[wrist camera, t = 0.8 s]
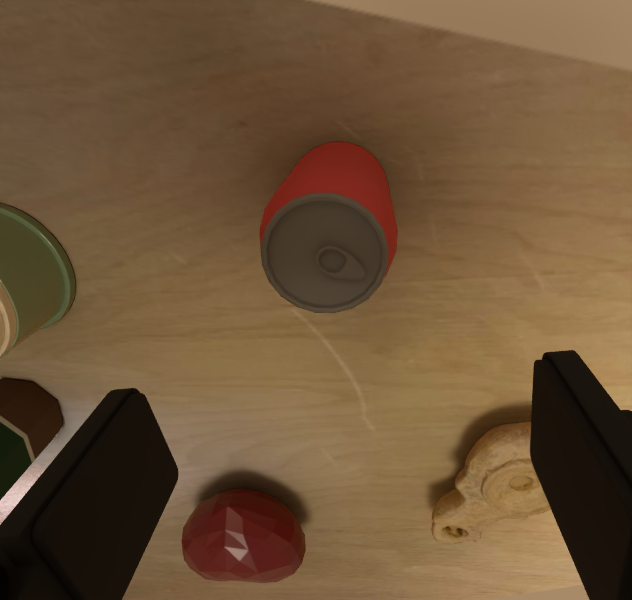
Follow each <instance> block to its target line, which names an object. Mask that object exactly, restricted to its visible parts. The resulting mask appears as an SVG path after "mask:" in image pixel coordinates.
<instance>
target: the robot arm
mask: <svg viewBox="0 0 632 600" xmlns="http://www.w3.org/2000/svg"><path fill="white" fill-rule="evenodd" d="M530 457H531V461H532V465H533V468H534V470H535V472H536V475H537V477H538V479H539V482H540V484H541V486H542V489H543V491H544V494H545V496H546V498H547V501H548V503H549V505H550V508H551V510H552V512H553V515H554V517H555V519H556V522H557V524H558V526H559V529H560V531H561V533H562V536H563V538H564V541H565V543H566V545H567V548H568V550H569V552H570V555H571V557H572V559H573V562H574V564H575V566H576V569H577V571H578V573H579V576H580V578H581V580H582V583H583V585H584V587H585V590H586V592H587V595H588V597H589V599H590V600H632V411H630V410H620V409H619V408H618V406H617V405H616V404H615V402H614V401H613V400H612V398H611V397H610V396H609V394H608V393H607V392H606V390H605V389H604V388H603V387H602V385H601V384H600V383H599V381H598V380H597V379H596V377H595V376H594V375H593V373H592V372H591V371H590V369H589V368H588V367H587V365H586V364H585V363H584V362H583V360H582V359H581V358H580V356H579V355H578V354H577V353H576V352H575V351H573V350H569V351H558V352H546V353H544V355H543V357H542V360H536V361H535V362H534V373H533V394H532V414H531V435H530ZM177 480H178V468H177V465H176V463H175V461H174V458H173V456H172V454H171V452H170V450H169V447H168V445H167V443H166V441H165V438H164V436H163V434H162V432H161V430H160V427H159V425H158V423H157V421H156V418H155V416H154V414H153V412H152V409H151V407H150V405H149V403H148V401H147V398H146V397H145V395H144V394H142V393H140V392H139V391H138V390H137V389H135V388H129V389H117V390H112V391H110V392H109V393H108V394H107V395H106V397H105V398H104V399H103V400H102V401H101V403H100V404H99V405H98V406H97V408H96V409H95V410H94V411H93V412H92V414H91V415H90V416H89V417H88V419H87V420H86V421H85V422H84V423H83V425H82V426H81V427H80V428H79V430H78V431H77V432H76V433H75V434H74V436H73V437H72V438H71V439H70V441H69V442H68V443H67V444H66V445H65V447H64V448H63V449H62V450H61V452H60V453H59V454H58V455H57V456H56V458H55V459H54V460H53V461H52V463H51V464H50V465H49V466H48V467H47V469H46V470H45V471H44V472H43V474H42V475H41V476H40V477H39V478H38V480H37V481H36V482H35V483H34V485H33V486H32V487H31V488H30V489H29V491H28V492H27V493H26V494H25V496H24V497H23V498H22V499H21V500H20V502H19V503H18V504H17V505H16V507H15V508H14V509H13V510H12V511H11V513H10V514H9V515H8V516H7V518H6V519H5V520H4V521H3V522H2V524H1V525H0V600H122V598H123V596H124V594H125V592H126V590H127V587H128V585H129V583H130V581H131V579H132V577H133V575H134V572H135V570H136V568H137V566H138V564H139V562H140V560H141V558H142V555H143V553H144V551H145V549H146V547H147V545H148V543H149V541H150V538H151V536H152V534H153V532H154V530H155V528H156V526H157V523H158V521H159V519H160V517H161V515H162V513H163V511H164V509H165V506H166V504H167V502H168V500H169V498H170V496H171V494H172V491H173V489H174V487H175V485H176V483H177Z"/></svg>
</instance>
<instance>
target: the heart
mask: <svg viewBox="0 0 632 600" xmlns="http://www.w3.org/2000/svg"><path fill="white" fill-rule="evenodd" d="M305 550H306V548H305V535H304V533H303V530H302V528H301V526H300V524H299V522H298V520H297V518H296V516H295V515H294V514H293V513H292V512H291V511H290V510H289V509H288V508H287V507H286V506H285V505H283V504H282V503H281V502H279V501H278V500H277V499H275V498H274V497H273V496H271V495H268V494H265V493H261V492H258V491H254V490H248V489H241V488H237V489H233V490H228V491H223V492H220V493H218V494H217V495H215V496H213V497H211V498H209V499H208V500H206V501H204V502H203V503H201V504H200V505H198V506H197V508H196V509H195V510H194V512H193V513H192V514H191V516H190V517H189V519H188V521H187V522H186V524H185V526H184V528H183V534H182V551H183V556H184V560H185V562H186V563H187V564H188V566H189V567H190V568H191V569H192V570H193V571H195V572H196V573H197V574H199V575H200V576H202V577H203V578H205V579H208V580H215V581H230V580H235V581H246V582H258V583H268V582H277V581H280V580H282V579H284V578H286V577H288V576H290V575H292V574H294V573H295V572H296V570H297V569H298V568H299V566H300V565H301V564H302V561H303V557H304V554H305Z"/></svg>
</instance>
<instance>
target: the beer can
mask: <svg viewBox="0 0 632 600" xmlns="http://www.w3.org/2000/svg"><path fill="white" fill-rule="evenodd" d="M397 232H398V230H397V226H396V221H395V216H394V211H393V206H392V202H391V197H390V192H389V187H388V183H387V180H386V176H385V172H384V170H383V168H382V167H381V165H380V164H379V162H378V161H377V159H376V158H375V157H374V156H373V155H372V154H370V153H369V152H368V151H366V150H365V149H364V148H362V147H360V146H357V145H354V144H351V143H348V142H329V143H326V144H324V145H321V146H318V147H315V148H314V149H312V150H311V151H310V152H309V153H307V154H306V155H305V156H303V157H302V158H301V160H300V161H299V162H298V164H297V165H296V166H295V168H294V169H293V170H292V171H291V173H290V174H289V175H288V177H287V178H286V179H285V181H284V182H283V183H282V185H281V186H280V187H279V188H278V190H277V191H276V193H275V194H274V196H273V197H272V199H271V200H270V202H269V203H268V205H267V206H266V208H265V210H264V214H263V218H262V222H261V226H260V244H261V258H262V266H263V269H264V271H265V273H266V276H267V278H268V280H269V282H270V284H271V285H272V286H273V287H274V288H275V290H276V291H277V292H278V293H279V294H280V295H281V297H283V298H284V299H286V300H287V301H289V302H291V303H292V304H294V305H295V306H297V307H299V308H302V309H306V310H309V311H312V312H315V313H336V312H340V311H344V310H348V309H352V308H354V307H356V306H357V305H359V304H361V303H362V302H364V301H366V300H367V299H369V297H370V296H371V295H372V294H373V293H374V292H375V291H376V289H377V288H378V287H379V286H380V285H381V282H382V280H383V278H384V277H385V276H386V274H387V272H388V270H389V267H390V265H391V263H392V260H393V258H394V255H395V253H396V246H397Z"/></svg>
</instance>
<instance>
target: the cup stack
mask: <svg viewBox="0 0 632 600" xmlns="http://www.w3.org/2000/svg"><path fill="white" fill-rule="evenodd" d="M74 296H75V276H74V272H73V269H72V266H71V263H70V261H69V259H68V257H67V255H66V253H65V251H64V250H63V248H62V247H61V245H60V244H59V242H58V241H57V240H56V239H55V237H54V236H53V235H52V234H51V233H50V232H49V231H48V230H47V229H46V228H45V227H44V226H43V225H41V224H40V223H39V222H38V221H36V220H35V219H33V218H32V217H30V216H29V215H27V214H25V213H24V212H22V211H20V210H18V209H15V208H13V207H11V206H8V205H4V204H1V203H0V358H1V357H3V356H4V355H6V354H7V353H8V352H10V351H11V350H12V349H13V348H15V347H16V346H17V345H19V344H20V343H21V342H22V341H24V340H25V339H26V338H28V337H29V336H30V335H31V334H33V333H34V332H35V331H37V330H38V329H41V328H45V327H48V326H50V325H52V324H54V323H55V322H56V321H58V320H59V319H60V318H61V317H63V316H64V315H65V314H66V313H67V312H68V310H69V309H70V307H71V305H72V303H73V300H74Z"/></svg>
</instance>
